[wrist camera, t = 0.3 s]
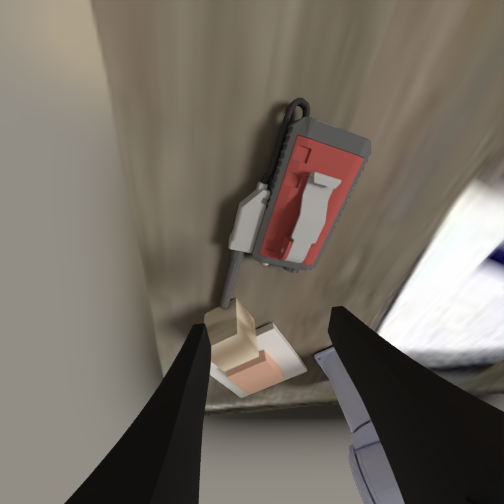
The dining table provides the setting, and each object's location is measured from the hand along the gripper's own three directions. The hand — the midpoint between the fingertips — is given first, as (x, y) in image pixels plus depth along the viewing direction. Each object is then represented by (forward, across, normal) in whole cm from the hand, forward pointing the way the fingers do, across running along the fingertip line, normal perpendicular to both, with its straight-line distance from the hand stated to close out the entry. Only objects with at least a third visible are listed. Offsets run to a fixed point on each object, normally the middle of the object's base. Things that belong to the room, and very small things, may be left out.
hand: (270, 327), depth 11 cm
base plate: (+10, +1, +19) cm, 21 cm away
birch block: (+10, +3, +9) cm, 14 cm away
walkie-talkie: (+10, -2, -2) cm, 11 cm away
